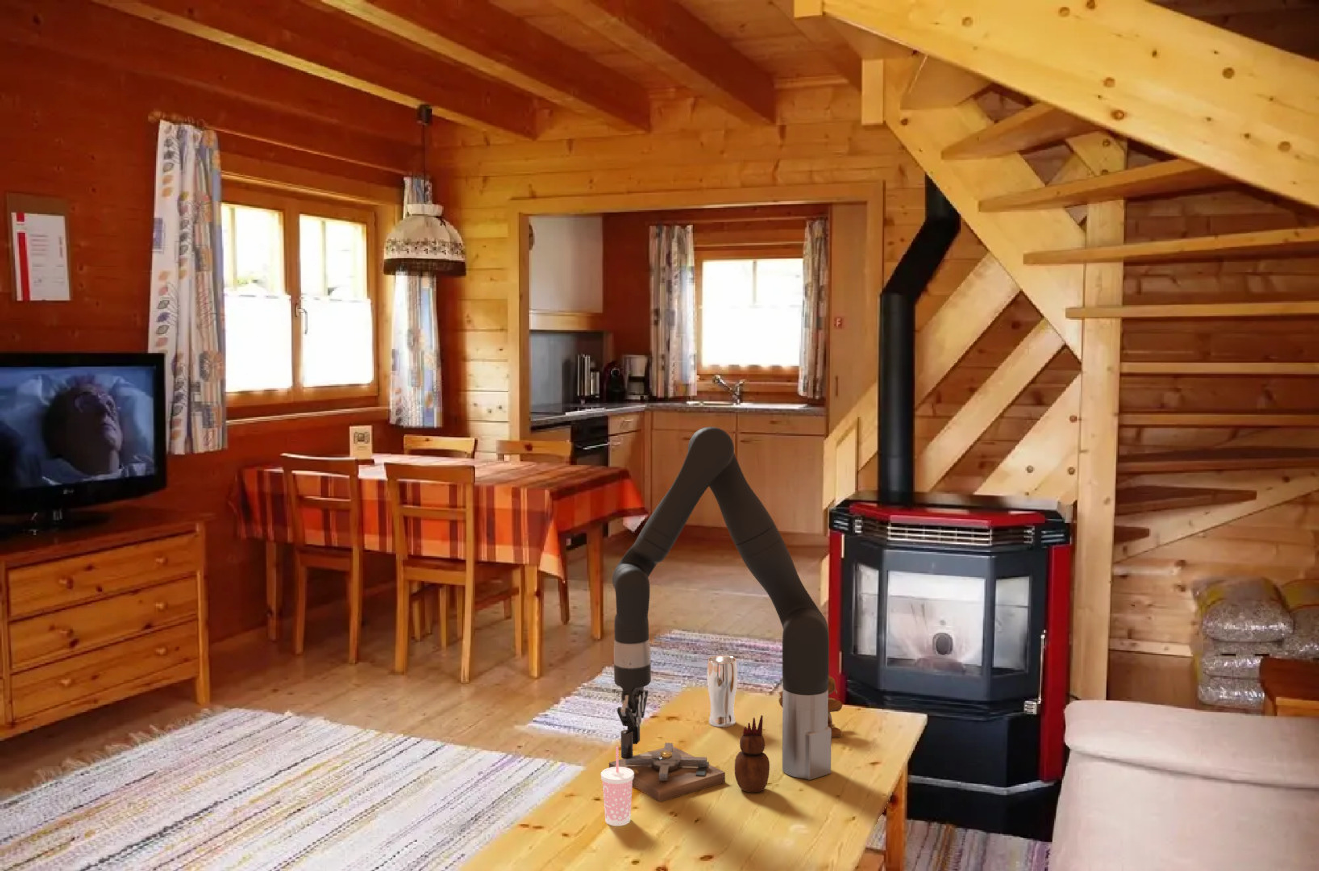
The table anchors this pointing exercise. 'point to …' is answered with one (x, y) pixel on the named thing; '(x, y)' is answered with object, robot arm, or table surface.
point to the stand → (672, 778)
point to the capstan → (658, 757)
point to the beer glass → (722, 689)
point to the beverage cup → (617, 793)
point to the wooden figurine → (752, 760)
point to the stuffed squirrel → (832, 707)
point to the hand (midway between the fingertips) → (633, 742)
